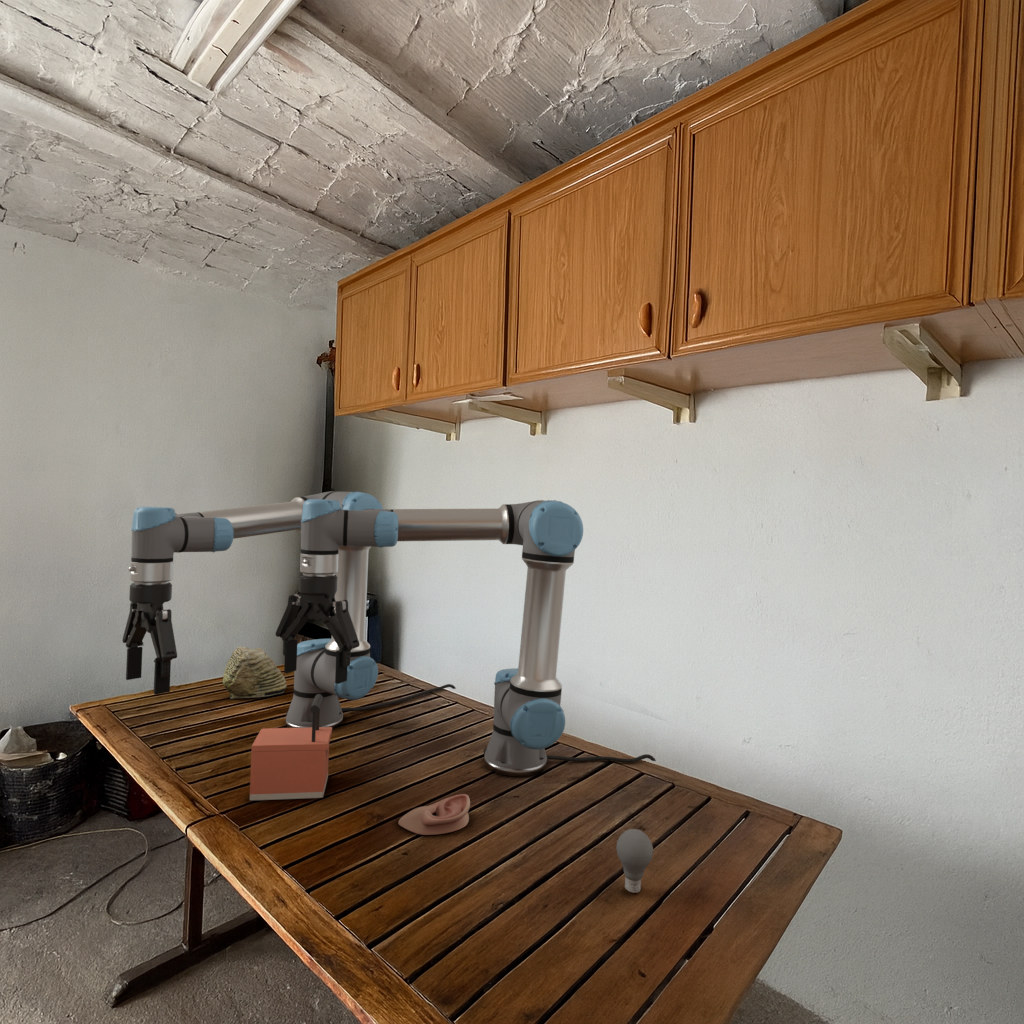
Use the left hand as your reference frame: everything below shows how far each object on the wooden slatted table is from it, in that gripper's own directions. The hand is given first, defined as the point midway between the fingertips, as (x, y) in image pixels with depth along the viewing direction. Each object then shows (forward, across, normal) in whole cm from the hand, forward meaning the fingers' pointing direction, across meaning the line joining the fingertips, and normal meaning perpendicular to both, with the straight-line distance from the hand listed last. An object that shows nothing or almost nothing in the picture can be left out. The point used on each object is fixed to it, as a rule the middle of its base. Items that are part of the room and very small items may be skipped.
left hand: (147, 685), depth 130 cm
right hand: (-3, +26, +22) cm, 34 cm away
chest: (+23, +18, +23) cm, 37 cm away
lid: (+13, +18, +23) cm, 32 cm away
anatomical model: (+23, +50, +34) cm, 65 cm away
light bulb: (+23, +90, +41) cm, 102 cm away
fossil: (+23, -46, +50) cm, 72 cm away
